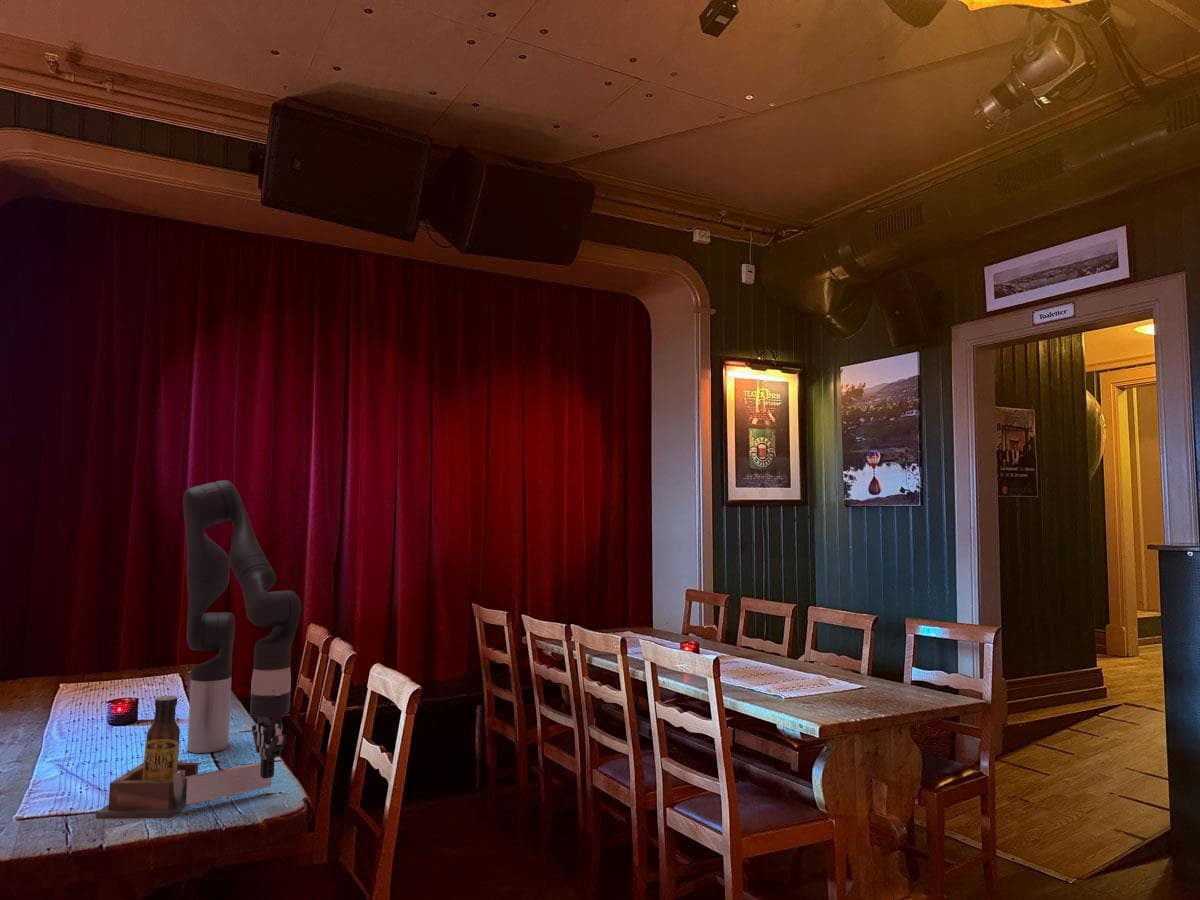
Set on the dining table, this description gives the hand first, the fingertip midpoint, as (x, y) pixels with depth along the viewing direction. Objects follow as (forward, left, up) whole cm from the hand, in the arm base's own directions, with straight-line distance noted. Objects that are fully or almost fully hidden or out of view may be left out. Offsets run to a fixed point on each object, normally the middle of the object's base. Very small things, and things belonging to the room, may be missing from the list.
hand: (267, 777), depth 166 cm
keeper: (-1, -9, -4) cm, 10 cm away
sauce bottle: (-2, -22, -5) cm, 22 cm away
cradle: (-1, -22, -6) cm, 23 cm away
